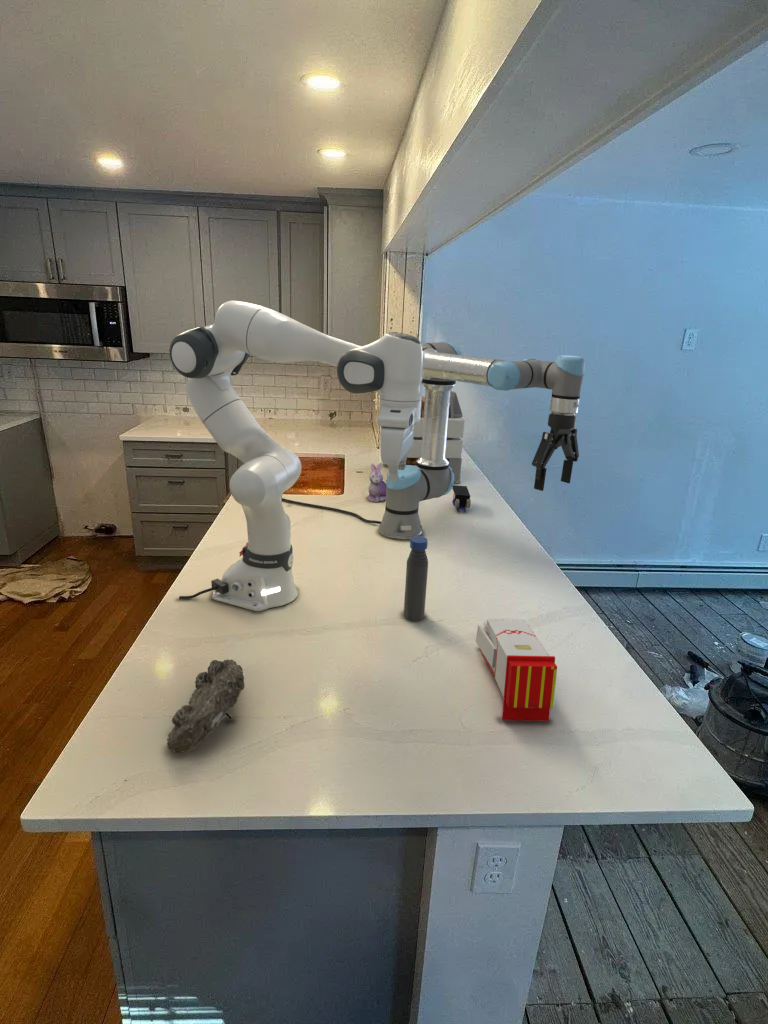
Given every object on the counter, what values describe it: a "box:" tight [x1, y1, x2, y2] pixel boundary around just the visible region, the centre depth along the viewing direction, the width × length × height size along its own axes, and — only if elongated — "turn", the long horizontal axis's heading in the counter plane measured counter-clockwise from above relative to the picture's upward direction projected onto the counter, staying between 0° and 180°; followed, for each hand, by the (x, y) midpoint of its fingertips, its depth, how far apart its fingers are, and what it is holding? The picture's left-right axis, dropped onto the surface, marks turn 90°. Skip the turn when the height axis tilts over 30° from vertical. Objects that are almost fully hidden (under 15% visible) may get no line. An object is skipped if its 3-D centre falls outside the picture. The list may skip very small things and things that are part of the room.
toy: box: [475, 618, 558, 722], centre depth 122 cm, size 12×13×30 cm
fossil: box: [166, 658, 245, 754], centre depth 106 cm, size 22×10×15 cm
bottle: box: [403, 548, 429, 622], centre depth 144 cm, size 5×5×21 cm
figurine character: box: [451, 484, 472, 513], centre depth 228 cm, size 7×8×15 cm
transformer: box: [383, 390, 465, 484], centre depth 268 cm, size 34×33×41 cm
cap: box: [409, 535, 429, 551], centre depth 140 cm, size 4×4×2 cm
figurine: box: [367, 462, 386, 503], centre depth 233 cm, size 9×10×15 cm
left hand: (397, 474), depth 126 cm, fingers open, 8 cm apart
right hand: (552, 485), depth 166 cm, fingers open, 13 cm apart
